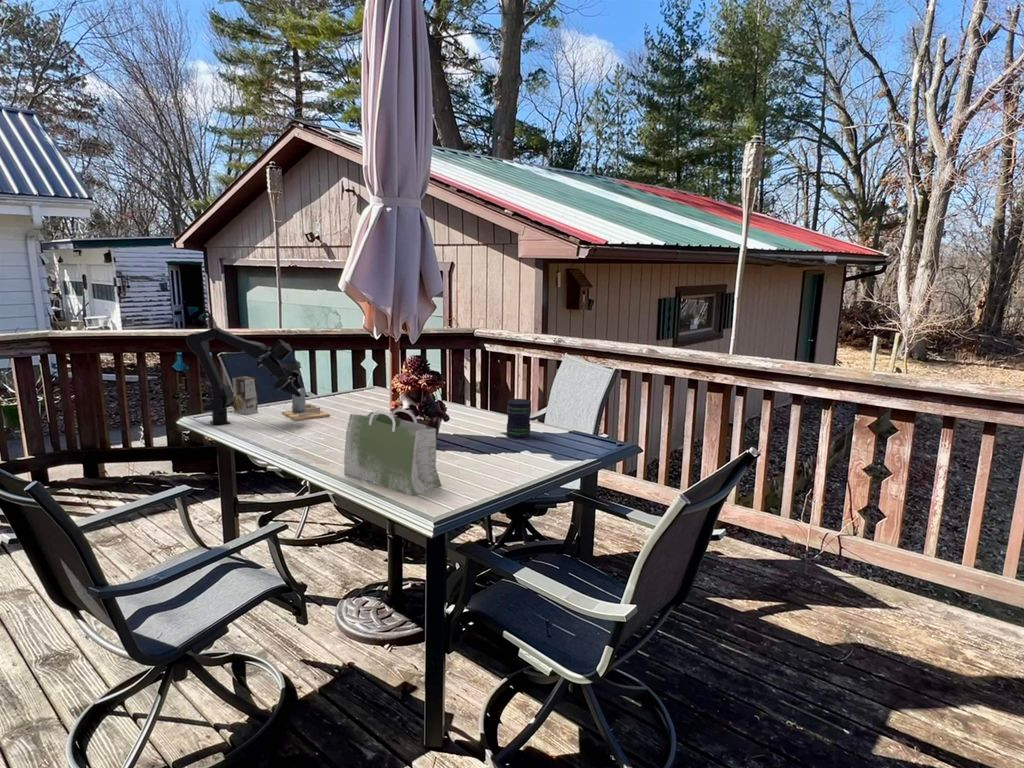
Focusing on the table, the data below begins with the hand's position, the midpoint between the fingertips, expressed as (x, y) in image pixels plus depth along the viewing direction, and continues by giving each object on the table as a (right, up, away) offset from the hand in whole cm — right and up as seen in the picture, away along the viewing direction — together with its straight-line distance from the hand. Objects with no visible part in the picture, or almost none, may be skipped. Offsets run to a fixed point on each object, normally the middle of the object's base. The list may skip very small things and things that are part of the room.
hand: (302, 394), depth 264 cm
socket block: (-5, -10, +21) cm, 24 cm away
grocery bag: (+50, -26, -62) cm, 84 cm away
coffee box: (-33, -9, +23) cm, 41 cm away
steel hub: (-2, -7, +1) cm, 8 cm away
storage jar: (+91, -18, -3) cm, 92 cm away
